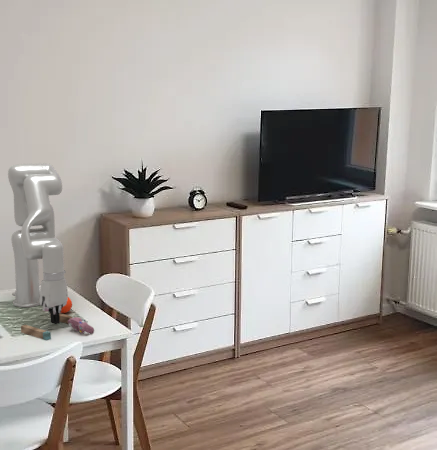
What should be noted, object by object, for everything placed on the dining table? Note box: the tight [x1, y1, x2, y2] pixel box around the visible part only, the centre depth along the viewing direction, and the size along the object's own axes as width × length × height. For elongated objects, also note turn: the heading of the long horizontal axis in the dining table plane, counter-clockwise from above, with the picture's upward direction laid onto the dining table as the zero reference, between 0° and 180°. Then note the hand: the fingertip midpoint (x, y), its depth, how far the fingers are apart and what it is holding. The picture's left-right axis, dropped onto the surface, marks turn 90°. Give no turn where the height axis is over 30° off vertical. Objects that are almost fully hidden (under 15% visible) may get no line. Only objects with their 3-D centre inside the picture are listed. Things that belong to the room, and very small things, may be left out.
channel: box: [20, 313, 87, 341], centre depth 257 cm, size 14×19×2 cm
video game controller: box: [67, 316, 95, 335], centre depth 254 cm, size 10×5×7 cm, turn 49°
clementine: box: [59, 296, 73, 314], centre depth 276 cm, size 8×7×7 cm
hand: (55, 323), depth 256 cm, fingers closed
